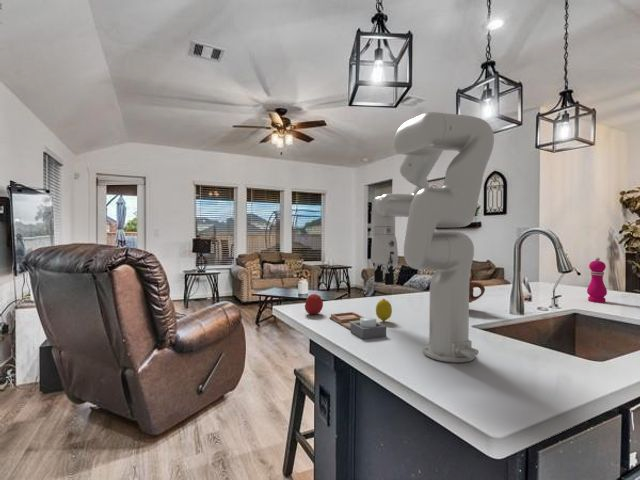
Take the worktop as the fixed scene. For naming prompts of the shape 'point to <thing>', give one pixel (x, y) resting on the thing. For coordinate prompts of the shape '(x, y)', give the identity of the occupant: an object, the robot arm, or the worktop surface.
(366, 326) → the dome
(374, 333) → the housing
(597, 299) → the pepper mill
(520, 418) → the worktop surface
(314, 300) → the tomato
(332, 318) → the board
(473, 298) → the brown mug
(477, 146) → the robot arm
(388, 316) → the lemon
